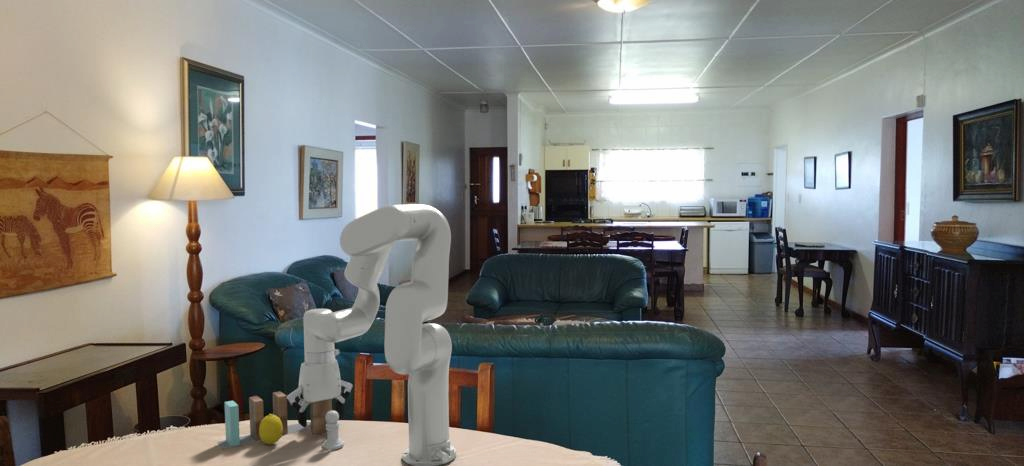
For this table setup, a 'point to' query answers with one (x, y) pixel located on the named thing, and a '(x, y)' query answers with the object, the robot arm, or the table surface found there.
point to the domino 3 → (319, 416)
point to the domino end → (232, 423)
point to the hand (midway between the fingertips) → (321, 421)
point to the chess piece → (332, 431)
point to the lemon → (270, 429)
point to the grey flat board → (250, 439)
